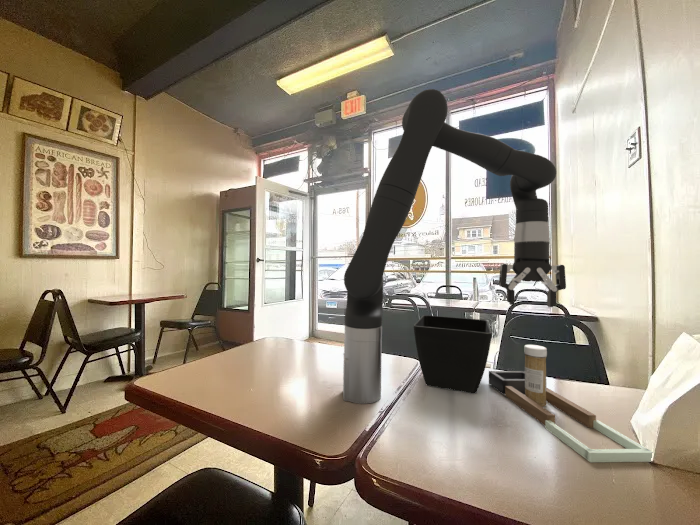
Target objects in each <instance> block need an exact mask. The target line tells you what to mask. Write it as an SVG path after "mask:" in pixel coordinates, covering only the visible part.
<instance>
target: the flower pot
mask: <svg viewBox="0 0 700 525" xmlns="http://www.w3.org/2000/svg"><path fill="white" fill-rule="evenodd" d="M413 332H414V333H413V334H414V339H415V341H414V342H415V347H416V352H417V358H418V361H419V366H420V370H421V373H422V377H423V380H424V383H425V385H426V386H428V387H432V388H433V387H434V388H436V389H437V388H438V389H444V390H450V391H456V392H463V393H469V394H476V393H477V392H478V389H479V388H480V385H481V382H482V379H483V377H484V373H485V370H486V366H487V362H488V359H489V358H488V357H489V354H490V348H491V344H492V343H491V342H492V337H493V336H492V335H493V332H492V330H491V327H490V324H489V321H488V320H487V319H480V318H479V319H478V318H467V317H466V318H465V317H453V316H442V315H440V316H439V315H425V314H424V315H422V316H421V317H420V318H419V319H418V320H417V322H415V323H414V324H413Z"/></svg>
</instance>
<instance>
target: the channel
mask: <svg viewBox="0 0 700 525" xmlns="http://www.w3.org/2000/svg"><path fill="white" fill-rule="evenodd" d="M504 396H505V397H506V398H507V399H508V400H510V401H511V402H512V403H514V404H515V405H516V406H517V407H519V408H520V409H521V410H523V411H525V412H526V413H527V414H528V415H530V416H531V417H532V418H534V419H535V420H537V422H539V423H540V424H542V425H543V426H544V427H545V420H550V421H552V422H553V423H554V424H556V415H555V414H554V413H552V412H551V411H549V410H548V409H546V408H545V407H542V406H540V405H539V404H537V403H536V402H534V401H533V400H531V399H530V398H528V397H527V396H525V394H522V393H521V392H519V391H518V390H516V389H515V388H513V387H512V386H505V394H504ZM546 403H547V404H550V405H551V406H553V407H554V408H556V409H558V410H560V411H561V412H563V413H564V414H566V415H568V416H569V417H571V418H572V419H573V420H575V421H577V422H579V424H582V425H583V426H585V427H586V428H588V429H594V428H593V420H597V415H596V414H595V413H592V412H591V411H589V410H588V409H586V408H583V407H582V406H580V405H579V404H577V403H575V402H573V401H571V400H569V399H567V398H566V397H564V396H562V395H561V394H559V393H557V392H556V391H554V390H551V389H550V388H548V387H546Z"/></svg>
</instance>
